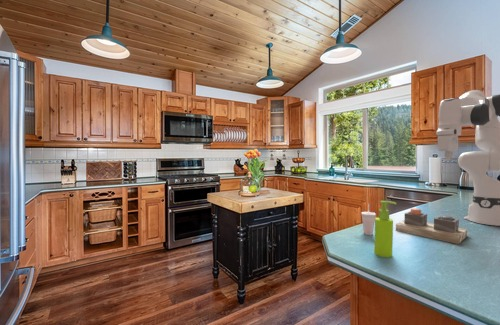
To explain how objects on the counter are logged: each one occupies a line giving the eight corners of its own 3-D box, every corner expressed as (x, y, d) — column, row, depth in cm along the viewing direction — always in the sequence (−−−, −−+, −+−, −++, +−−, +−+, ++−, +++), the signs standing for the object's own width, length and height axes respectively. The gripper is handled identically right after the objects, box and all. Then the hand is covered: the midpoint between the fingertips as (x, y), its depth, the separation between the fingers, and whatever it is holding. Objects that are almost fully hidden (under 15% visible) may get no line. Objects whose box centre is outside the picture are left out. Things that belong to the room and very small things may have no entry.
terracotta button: (412, 215, 124) (412, 208, 124) (422, 217, 121) (422, 209, 121) (409, 217, 122) (409, 209, 121) (419, 219, 118) (419, 210, 118)
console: (407, 224, 131) (408, 209, 131) (466, 235, 113) (467, 218, 112) (395, 230, 121) (396, 213, 121) (458, 244, 102) (459, 225, 102)
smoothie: (375, 232, 117) (376, 203, 117) (376, 236, 111) (376, 205, 111) (360, 230, 120) (361, 202, 119) (360, 234, 114) (361, 204, 113)
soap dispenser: (395, 259, 88) (396, 203, 87) (373, 255, 91) (374, 201, 90) (395, 253, 93) (397, 200, 92) (375, 249, 96) (376, 198, 95)
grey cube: (441, 223, 115) (441, 215, 115) (453, 225, 112) (453, 217, 112) (438, 225, 112) (439, 216, 112) (451, 227, 109) (451, 218, 109)
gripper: (446, 133, 127) (446, 160, 128) (435, 131, 114) (434, 161, 115) (462, 132, 122) (461, 160, 123) (452, 130, 109) (451, 161, 110)
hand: (448, 160), depth 119 cm, fingers closed
